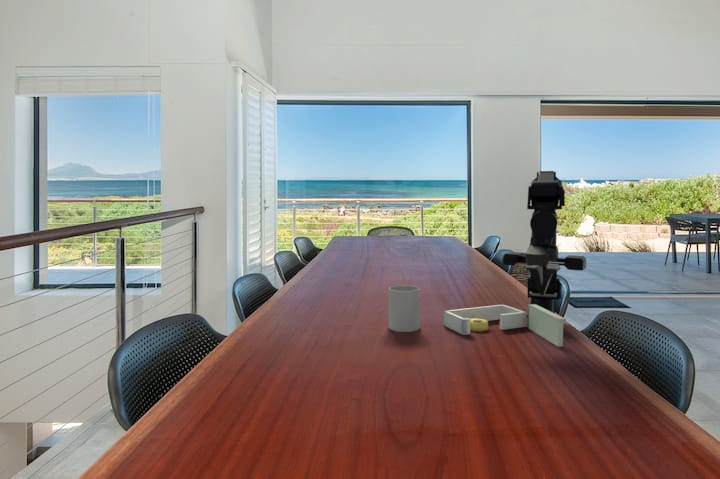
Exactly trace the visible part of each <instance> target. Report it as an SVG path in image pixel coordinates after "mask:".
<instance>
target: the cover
mask: <svg viewBox="0 0 720 479" xmlns="http://www.w3.org/2000/svg"><path fill="white" fill-rule="evenodd" d="M564 322H567V319H566V318H565V317H562V316H561V315H558V314H556V312H555V313H552V312H550V311H548V310H546V309H544V308H542V307H540V306H538V305H536V304H532V305H529V328H528V330H530V331H532V332H534V333H535V334H536V335H538V336H540V337H541V338H543V339H545V340H546V341H547V342H549V343H551V344H553V345H554V346H556V347H558V348H561V347H564V346H563V345H564V344H563V343H564Z"/></svg>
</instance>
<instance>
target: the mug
mask: <svg viewBox="0 0 720 479" xmlns="http://www.w3.org/2000/svg"><path fill="white" fill-rule="evenodd" d="M388 329H389V330H391V331H393V332H399V333H413V332H417V331H420V329H421V289H420V287H418V286H415V285H403V284H402V285H394V286H393V285H392V286H390V287H388Z"/></svg>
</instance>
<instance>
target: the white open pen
mask: <svg viewBox="0 0 720 479" xmlns="http://www.w3.org/2000/svg"><path fill="white" fill-rule="evenodd" d="M529 305H532V304H530V303H528V304H527V311H523V310H521V309H518V308H516V307H512V306H509V305H506V304H494V305H485V306H476V307H468V308H467V307H466V308H459V309H458V308H456V309H449V310H443V313H442V314H443V316H442V321H443V322H442V324H443V326H445V327H446V328H448V329H450V330H453V331H454V332H455V333H458V334H460V335H463V336H466V335H471V330H470V319H474V318H477V319H484V320H487V321H488V322H489V321H496V320H497V321H499V329H500V330H501V331H505V330H510V329H520V328H526V327H527V329H529ZM527 315H528V317H527Z"/></svg>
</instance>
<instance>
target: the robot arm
mask: <svg viewBox="0 0 720 479" xmlns="http://www.w3.org/2000/svg"><path fill="white" fill-rule="evenodd" d="M527 190H528V191H527V207H526V208H527V210H533V212H532V213H531V218H530V221H529V222H530V223H529V225H530V226H529V227H530V229H531V235H530V236H531V237H530V243H529V245H528V247H527V249H526V250H525V254H524V252H518V251H509V252H506V253H504V254H503V255H502V257H501V258H502V261H501V263H502V265H503V266H515V265H517V264H519V263H521V264H525V265H526V267H524V268H525V270H526V271H529V272H530V276H528V277H527V298H528V299H530V302H529V304H536V305H538V306H540V307H542V308H544V309H546V310H548V311H550V312H552V313H555V314H556V301H559V300H562V295H563V294H562V293H563V292H562V289H563V288H562V287H563V284H562V282H561V280H560V278H557V276H558V272H559V271H560V270H561V266H562V267H563V266H564V268H566V269H567V270H569V271H584V270H585V269H586V268H587V258H586V257H585V256H584V255H571V254H569V255H567V256H565V257H564V258H563V257H559V248H558V245H557V235H558V234H557V232H558V231H557V230H558V229H557V227H558V213H557V212H556V211H557V210H562V209H563V207H565V199H566V198H565V196H566V194H565V193H566V192H565V191H566V190H565V189H564V187H563V182H562V180H561V179H560V178H558V177H557V171H554V170H543V171H542V170H541V171H537V172H536V177H535V178H534V179H533V180H532V181H531V182H530V185H529V186H528V188H527ZM527 318H528V314H527Z"/></svg>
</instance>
